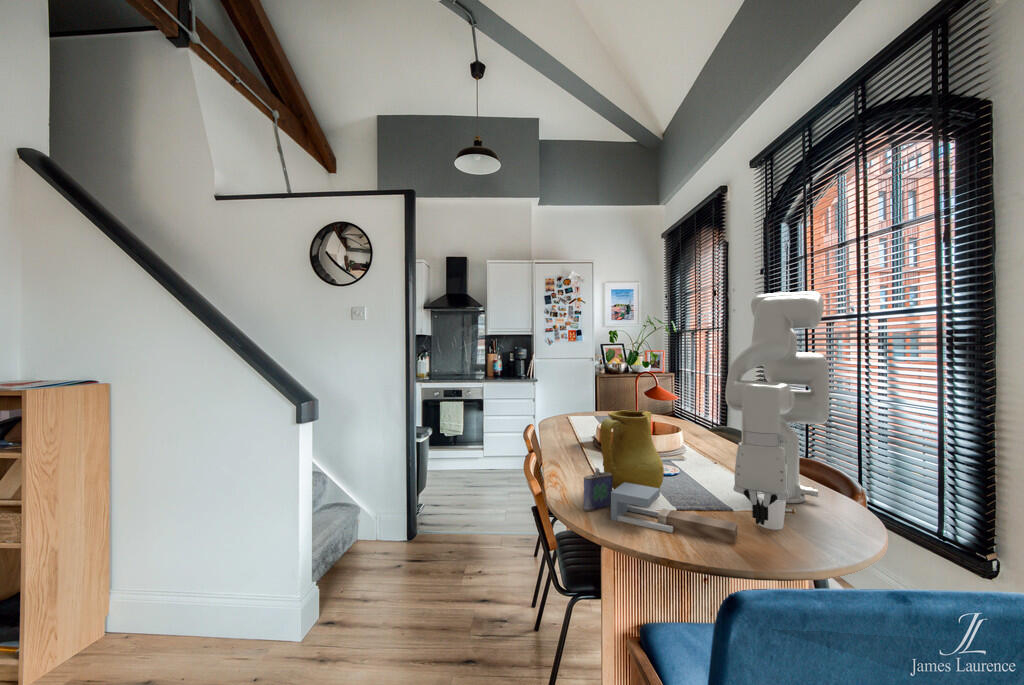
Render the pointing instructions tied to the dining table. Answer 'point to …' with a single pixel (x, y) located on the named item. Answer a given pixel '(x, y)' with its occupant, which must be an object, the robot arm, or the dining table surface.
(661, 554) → the dining table surface
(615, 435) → the pitcher
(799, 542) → the dining table surface
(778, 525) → the white short cylinder
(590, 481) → the flask
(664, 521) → the walnut slat
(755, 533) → the dining table surface
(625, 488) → the grey block with rails
